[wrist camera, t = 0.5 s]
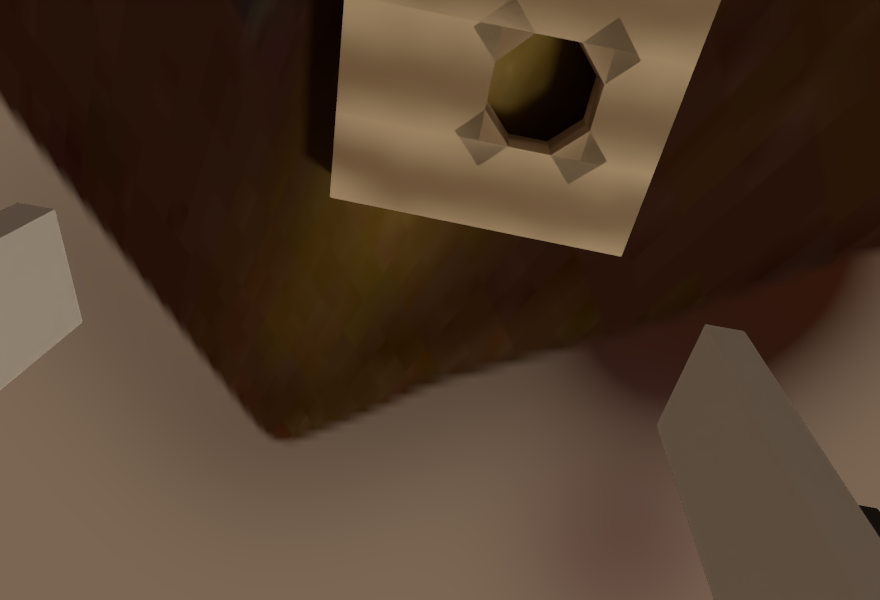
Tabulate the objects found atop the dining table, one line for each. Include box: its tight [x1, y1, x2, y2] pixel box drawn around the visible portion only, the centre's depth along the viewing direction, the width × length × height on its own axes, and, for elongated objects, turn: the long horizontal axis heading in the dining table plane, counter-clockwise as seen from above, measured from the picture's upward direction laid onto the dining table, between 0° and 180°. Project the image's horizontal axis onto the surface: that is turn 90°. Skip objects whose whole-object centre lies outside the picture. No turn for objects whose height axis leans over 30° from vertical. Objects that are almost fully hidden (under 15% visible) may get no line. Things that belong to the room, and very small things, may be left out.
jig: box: [330, 0, 721, 256], centre depth 30 cm, size 16×18×3 cm
